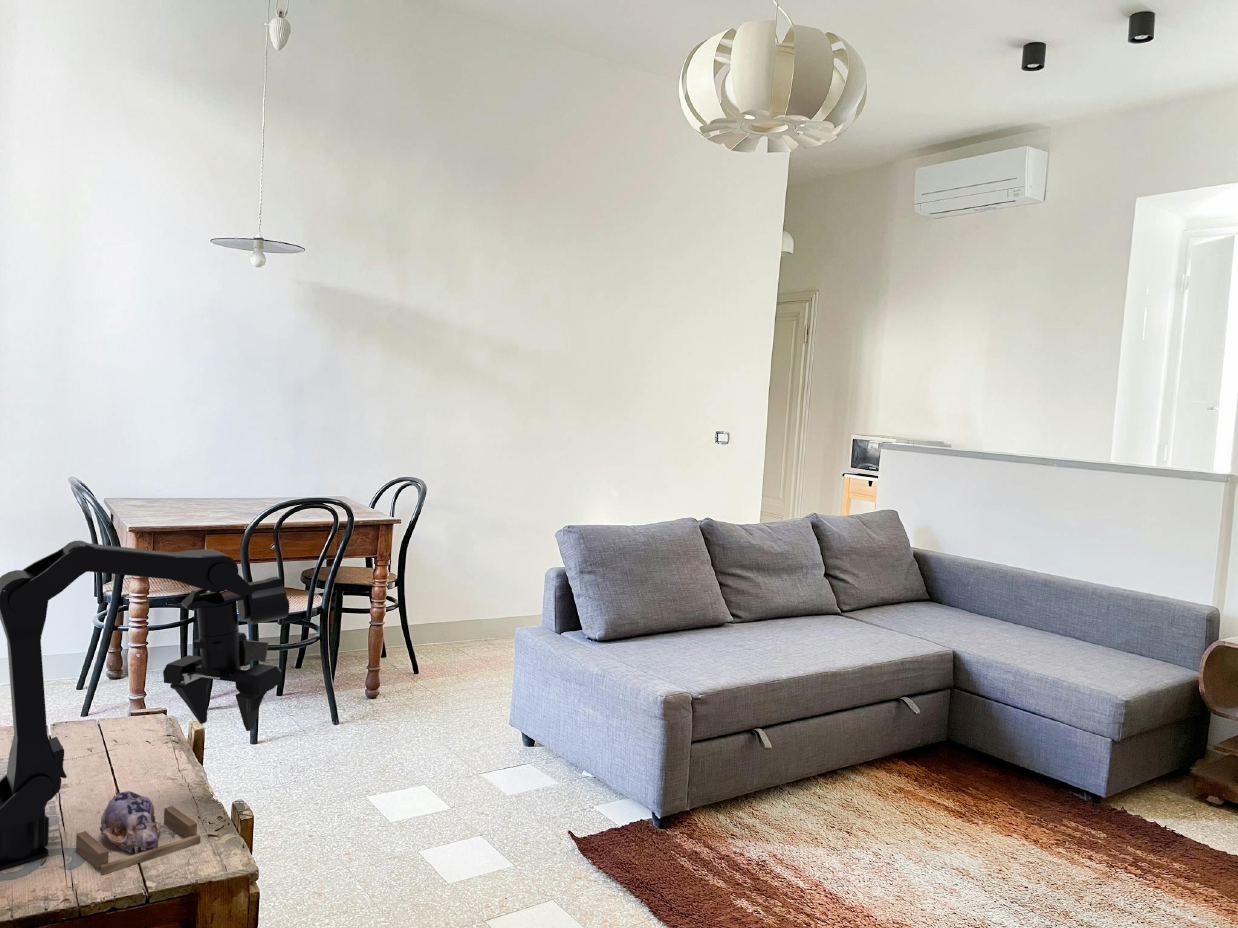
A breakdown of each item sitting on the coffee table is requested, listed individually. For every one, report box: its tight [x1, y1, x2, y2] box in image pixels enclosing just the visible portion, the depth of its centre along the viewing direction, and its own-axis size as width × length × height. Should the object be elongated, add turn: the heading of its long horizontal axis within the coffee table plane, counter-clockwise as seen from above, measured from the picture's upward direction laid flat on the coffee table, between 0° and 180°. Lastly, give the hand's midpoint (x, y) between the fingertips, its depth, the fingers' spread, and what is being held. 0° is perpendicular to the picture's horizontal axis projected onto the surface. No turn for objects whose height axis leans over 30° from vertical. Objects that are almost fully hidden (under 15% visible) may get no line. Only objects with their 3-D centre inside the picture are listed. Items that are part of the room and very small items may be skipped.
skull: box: [99, 790, 161, 855], centre depth 133 cm, size 12×8×6 cm, turn 39°
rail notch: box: [75, 805, 201, 876], centre depth 132 cm, size 13×9×2 cm
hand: (226, 726), depth 145 cm, fingers open, 9 cm apart
